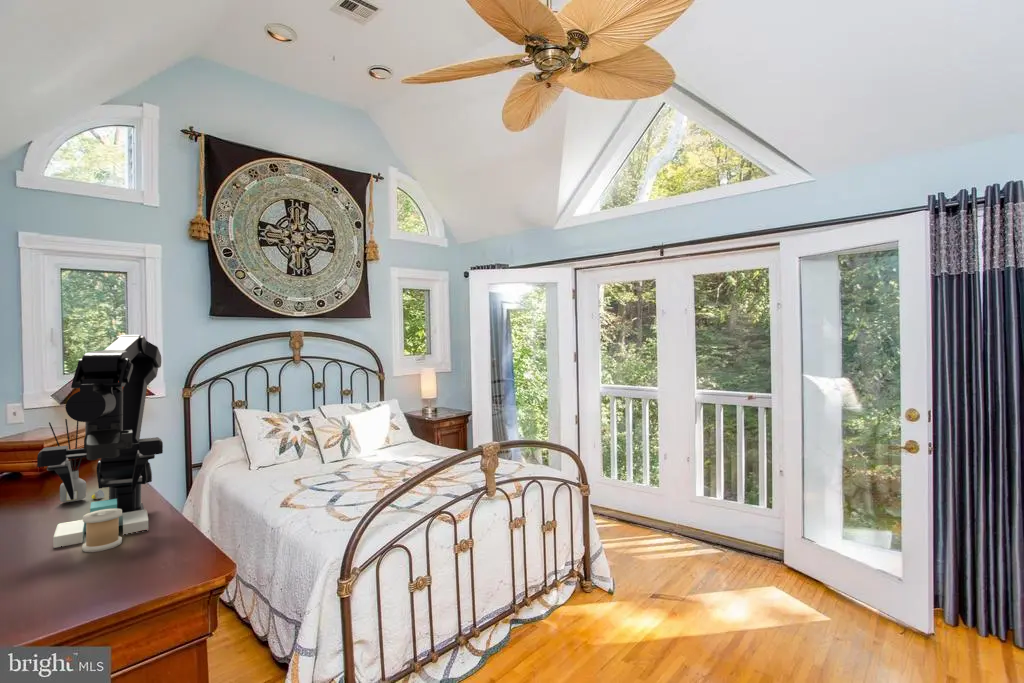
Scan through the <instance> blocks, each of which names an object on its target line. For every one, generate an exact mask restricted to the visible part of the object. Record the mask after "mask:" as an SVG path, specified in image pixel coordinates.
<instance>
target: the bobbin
mask: <svg viewBox="0 0 1024 683" xmlns="http://www.w3.org/2000/svg"><path fill="white" fill-rule="evenodd" d="M120 516H122V509H117V508H114V509H104V510H98V511H94V512H90V511H89V512H88V513H86V514H84V515H82V520H83V522H85V523H86V532H85V533H86V534H85V536H86V537H85V542H84V543H83V544H82V545H81V546H82V548H81V550H82V552H84V553H97V552H102V551H107V550H111V549H113V548H116V547H118V546H120V545H121V544H122V543H123V537H122V536H120V535H119V534H120V532H119V529H120V528H119V527H120V526H119V517H120Z"/></svg>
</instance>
